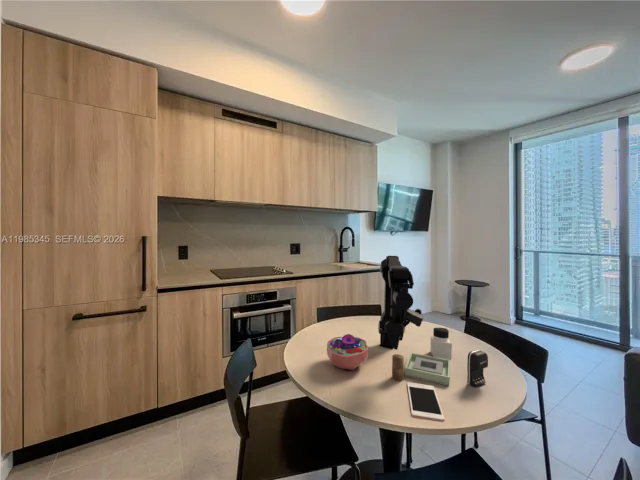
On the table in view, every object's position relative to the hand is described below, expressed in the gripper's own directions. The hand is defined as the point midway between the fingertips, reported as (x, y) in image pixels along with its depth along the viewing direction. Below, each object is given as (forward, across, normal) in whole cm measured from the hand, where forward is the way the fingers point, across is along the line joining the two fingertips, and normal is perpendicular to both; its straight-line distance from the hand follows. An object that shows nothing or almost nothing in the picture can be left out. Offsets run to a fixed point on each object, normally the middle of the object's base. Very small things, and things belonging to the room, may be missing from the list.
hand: (398, 344), depth 101 cm
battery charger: (+13, +9, -26) cm, 30 cm away
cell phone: (+13, -10, -10) cm, 19 cm away
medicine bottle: (+13, +28, -13) cm, 33 cm away
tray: (+12, +10, -10) cm, 19 cm away
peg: (+12, 0, 0) cm, 12 cm away
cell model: (+13, +1, +20) cm, 24 cm away
